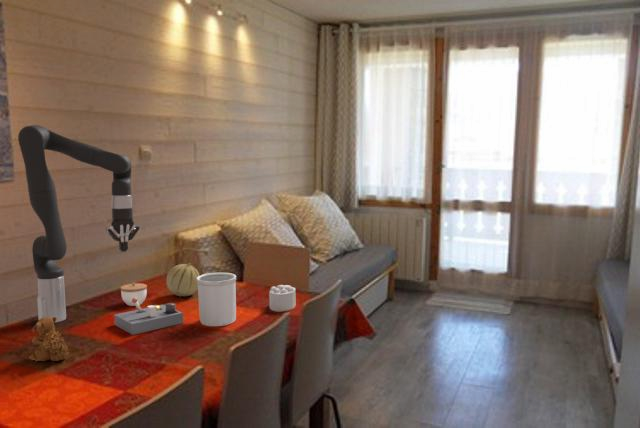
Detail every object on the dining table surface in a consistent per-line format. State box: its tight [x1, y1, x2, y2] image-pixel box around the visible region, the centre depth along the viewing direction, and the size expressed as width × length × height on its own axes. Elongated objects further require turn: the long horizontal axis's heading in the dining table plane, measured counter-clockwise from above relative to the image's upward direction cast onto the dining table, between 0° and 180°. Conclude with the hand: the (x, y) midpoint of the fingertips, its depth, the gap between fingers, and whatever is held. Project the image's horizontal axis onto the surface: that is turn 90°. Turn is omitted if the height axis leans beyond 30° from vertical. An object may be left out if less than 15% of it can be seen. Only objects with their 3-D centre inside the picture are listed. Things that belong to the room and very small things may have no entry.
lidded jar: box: [120, 281, 148, 307], centre depth 239 cm, size 11×11×9 cm
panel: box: [113, 304, 184, 336], centre depth 211 cm, size 20×16×4 cm
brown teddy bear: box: [28, 317, 70, 362], centre depth 176 cm, size 10×14×13 cm
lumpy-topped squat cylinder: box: [268, 284, 297, 313], centre depth 232 cm, size 10×13×9 cm
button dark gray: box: [164, 302, 176, 313], centre depth 212 cm, size 4×4×3 cm
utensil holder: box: [197, 272, 237, 327], centre depth 213 cm, size 15×15×18 cm
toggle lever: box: [132, 298, 142, 311], centre depth 212 cm, size 2×2×6 cm
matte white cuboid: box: [146, 304, 156, 317], centre depth 207 cm, size 2×3×4 cm, turn 42°
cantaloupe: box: [166, 262, 200, 297], centre depth 251 cm, size 15×15×15 cm
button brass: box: [153, 304, 160, 311], centre depth 216 cm, size 4×4×3 cm
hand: (123, 251), depth 215 cm, fingers closed
